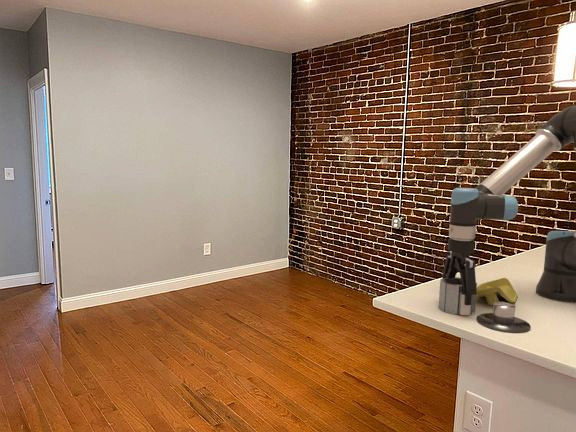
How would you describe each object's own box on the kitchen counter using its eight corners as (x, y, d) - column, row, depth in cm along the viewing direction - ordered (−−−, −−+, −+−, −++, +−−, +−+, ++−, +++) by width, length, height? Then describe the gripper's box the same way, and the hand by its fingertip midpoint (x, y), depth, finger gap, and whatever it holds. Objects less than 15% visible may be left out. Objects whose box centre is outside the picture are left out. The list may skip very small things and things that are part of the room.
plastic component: (481, 283, 158) (509, 276, 153) (489, 303, 157) (518, 296, 151) (470, 293, 141) (502, 285, 136) (478, 315, 140) (511, 308, 135)
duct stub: (511, 314, 133) (512, 296, 133) (541, 332, 119) (543, 313, 119) (467, 315, 132) (468, 297, 131) (493, 333, 118) (494, 314, 117)
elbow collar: (463, 303, 142) (465, 276, 141) (480, 314, 132) (482, 285, 131) (434, 304, 141) (436, 277, 140) (448, 315, 131) (450, 286, 130)
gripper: (434, 232, 145) (429, 297, 148) (468, 246, 122) (462, 322, 125) (455, 232, 145) (451, 297, 148) (493, 246, 123) (487, 321, 126)
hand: (456, 308), depth 137 cm, fingers closed on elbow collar, 10 cm apart
